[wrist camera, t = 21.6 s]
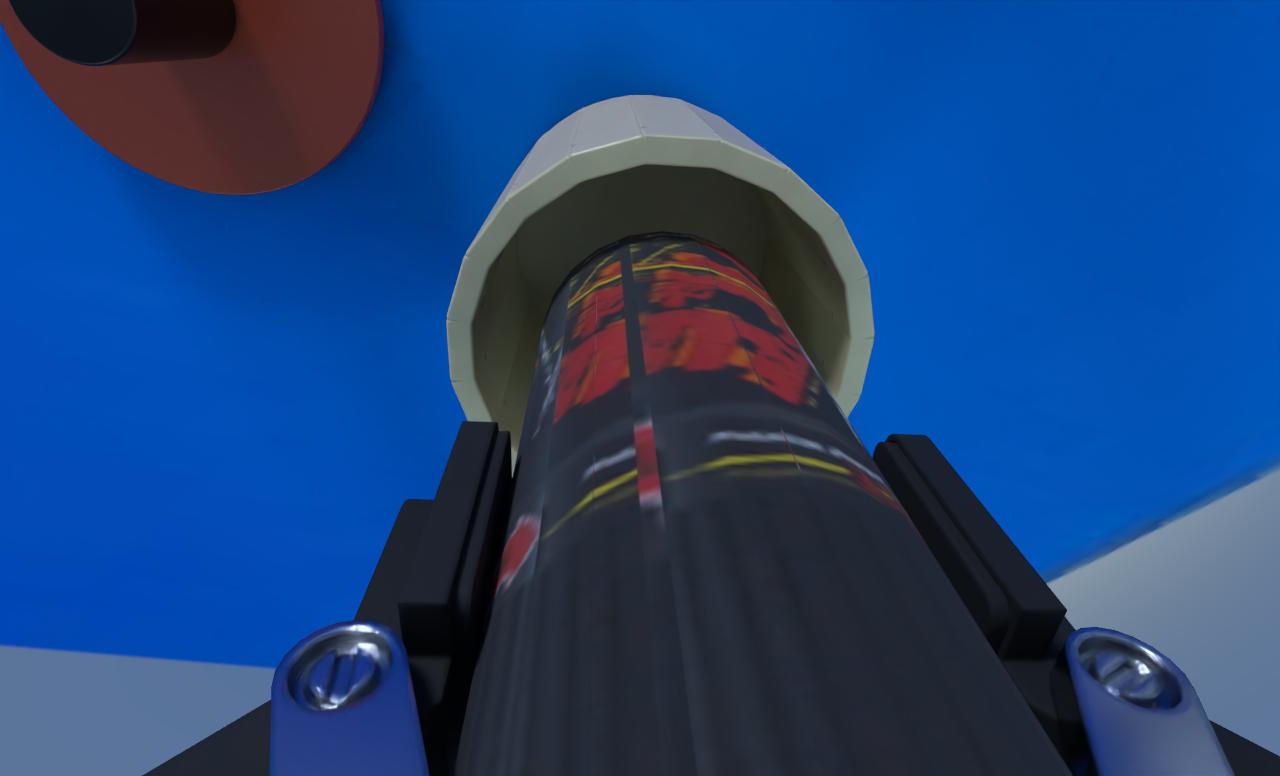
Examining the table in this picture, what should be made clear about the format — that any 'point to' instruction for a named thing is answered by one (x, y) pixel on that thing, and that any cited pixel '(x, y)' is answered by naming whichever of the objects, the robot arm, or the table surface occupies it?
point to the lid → (208, 82)
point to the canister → (643, 203)
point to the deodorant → (716, 559)
